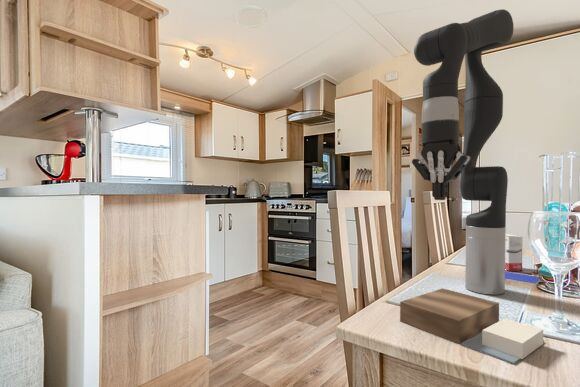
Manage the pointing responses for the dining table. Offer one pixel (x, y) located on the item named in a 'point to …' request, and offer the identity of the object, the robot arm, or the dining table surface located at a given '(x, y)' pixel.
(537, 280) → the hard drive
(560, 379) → the dining table surface
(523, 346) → the cream foam brick
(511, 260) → the ink box
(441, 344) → the dining table surface
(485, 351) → the mat
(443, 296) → the brown wooden block
